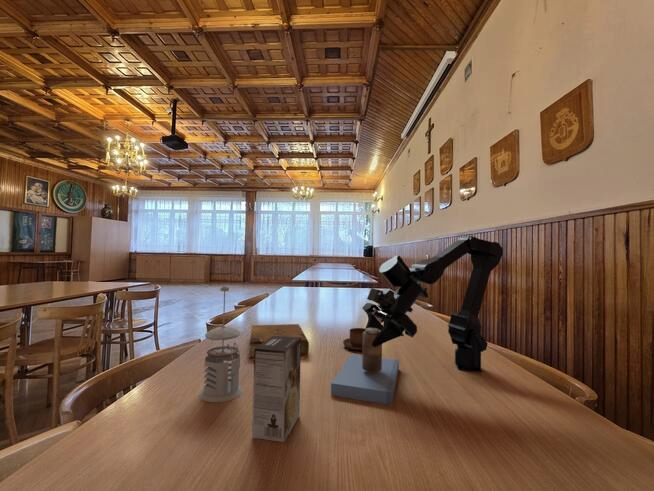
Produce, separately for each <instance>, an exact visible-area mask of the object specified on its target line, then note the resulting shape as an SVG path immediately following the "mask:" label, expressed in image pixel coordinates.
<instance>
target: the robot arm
mask: <svg viewBox="0 0 654 491" xmlns="http://www.w3.org/2000/svg"><path fill="white" fill-rule="evenodd" d="M503 253H504V250H503V247H502V246H501V244H500V243H499V242H497V241H489V240H485V239H482V238H478V237H476V236H472V235H469V236H468V235H467V236H461V237H459V238H458V239H457V240H456V241H454V242H453V243H452V244H450V245H449V246H447V247H445V248H444V249H442V250H441V251H440V252H438V253H437V254H436V255H434V256H432V257H430V258H424V259H422V260H419V261H418V262H415V263H413V264H412V265H411V266H408V265H407V264H406V263H405V262H404V261H403V260H404V259H403V258H402V257H401V256H400V255H394V256H393V257H392V258H390V259H388V260H386V261H385V262H383V263H382V264H381V265H380V266H379V268H378V269H379V273H380V274H381V275H382V276H383V277H384V279H386V281H387V282H388V283H389V284H390V285H391V287H394V288H395V287H397V289H396V290H395V291H393V290H391V289H384V290H380V289H378V288H377V289H376V288H373V287H371V288H370V291H369V294H368V296H367V297H366V299H367V300H368V301H372V302H374V303H376V304H377V305H376V304H374V303H371V302H366V303H365V304H364V305H363V307H362V310H363V312H365V313H366V315H367V318H368V319H367V323H366V325H365V328H364V329H366V328H377V329H379V333H378V335H377V336H376V338H375V339H374V341H373V343H372V345H373V346H374V347H377V346H379V345H381V344H382V345H383V344H385V343H387V342H389V341H391V340H394V339H398V338H400V337H404V336H405V335H406V336H408V337H411V338H414V336H416V334H418V333H417V332H418V326H417V324H416V323H415V322H414V321H413V320H412V319H411V317H409V315H408V314H407V313H412V312H413V311H414V309H413V308H412V306H413V305H414V304H415V303H416V301H417V300H418V298H419V297H420V298H425V299H427V298H429V294H428V288H427V287H425V286H424V287H423V286H422V285H421V284H425V285H434V284H435V283H437V281H439V279H441V277H442V276H443V275H444V271H445V270H446V269H447V268H449V267H450V266H451V265H452V264H454V263H456V261H458V260H459V259H461V258H462V257H464V256H465V255H467V254H469V255H470V261H471V264H472V270H471V273H470V277H469V280H468V284H467V288H466V291H465V294H464V298H463V302H462V304H461V309H460V311H458V312H457V313H452V314H451V315H450V318H449V319H450V320H449V323H448V324H447V327H448V329H447V330H448V334H449V336H450V339H451V343H452V344H453V345H456V348H455V349H454V364H455V366H456V367H457V369H458V370H461V371H468V372H475V373H483V369H482V352H484V351H487V347H488V342H487V340H486V339H485V338H484V337H483V336H482V334H481V331H482V324H481V321H480V319H479V315H480V312H481V308H482V304H483V300H484V297H485V293H486V290H487V289H486V288H487V286H488V282H489V279H490V275H491V272H492V271H493V270H494V269H495V268H496V267H497V266H498V265H499V264H500V261H501V260H502V257H503ZM382 323H383V324H382ZM404 334H405V335H404ZM362 340H363V336H362Z"/></svg>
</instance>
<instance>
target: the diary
mask: <svg viewBox="0 0 654 491" xmlns="http://www.w3.org/2000/svg"><path fill="white" fill-rule="evenodd" d="M272 336H286V337H301V357H307V356H308V355H309V354H310V352H309V350H310V346H309V345H310V342H309V341H308V338H307V337H306V335H305V332H304V331H303V329H302V327H301V325H300V324H299V323H294V324H293V323H292V324H285V323H284V324H258V325H257V324H254V325H253V324H252V325H251V332H250V336H249V337H250V339H249V345H250V349H249V358H248V359H249V360H254V348H256V347H257V346H259V345H260V344H262V343H263V342H265V341H266V340H267V339H269V338H270V337H272Z"/></svg>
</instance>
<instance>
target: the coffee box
mask: <svg viewBox="0 0 654 491" xmlns="http://www.w3.org/2000/svg"><path fill="white" fill-rule="evenodd" d="M301 357H302V356H301V337H286V336H272V337H270V338H269V339H267V340H266V341H265V342H263V343H262V344H260V345H259V346H257V347H256V348H254V359H253V385H252V386H253V388H252V390H253V392H252V393H253V395H252V399H253V400H252V431H251V436H252V438H253V439H259V440H267V441H274V442H278V443H279V442H280V443H284V442H285V441H286V440H287V438H288V437H289V435H290V433H291V431H292V429H293V428H294V426H295V425H296V422H297V421H298V419H299V417H300V405H301V404H300V403H301V402H300V401H301V400H300V398H301V394H300V392H301V391H300V390H301Z"/></svg>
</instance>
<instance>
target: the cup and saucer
mask: <svg viewBox="0 0 654 491" xmlns="http://www.w3.org/2000/svg"><path fill="white" fill-rule="evenodd" d="M364 331H365V328H361V327H353V328H351V329H349V338H345V339H344V340H343V341H342V345H344V346H345V348H348V349H350V350H354V351H363V340H362V336H363V332H364Z"/></svg>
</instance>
